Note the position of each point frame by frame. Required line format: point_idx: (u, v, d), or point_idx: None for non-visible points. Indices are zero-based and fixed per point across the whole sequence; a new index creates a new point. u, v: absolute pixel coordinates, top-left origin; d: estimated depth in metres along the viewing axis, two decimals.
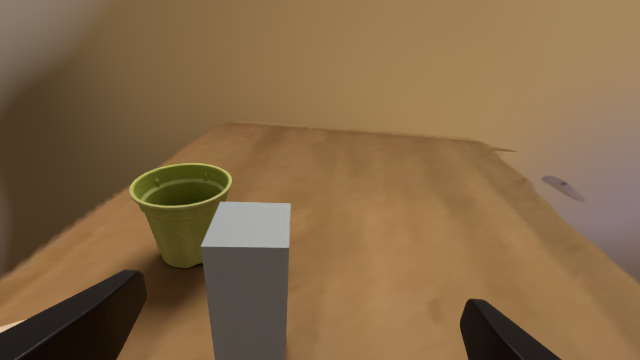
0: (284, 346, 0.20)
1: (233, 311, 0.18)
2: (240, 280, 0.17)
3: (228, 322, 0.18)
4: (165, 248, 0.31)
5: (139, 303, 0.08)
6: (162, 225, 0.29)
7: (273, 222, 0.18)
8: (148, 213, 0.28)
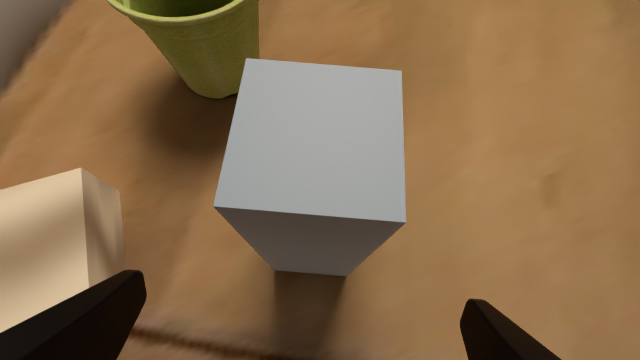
0: (356, 266, 0.14)
1: (287, 247, 0.11)
2: (297, 235, 0.09)
3: (281, 251, 0.12)
4: (182, 73, 0.21)
5: (139, 303, 0.08)
6: (166, 45, 0.18)
7: (367, 135, 0.08)
8: (138, 25, 0.17)
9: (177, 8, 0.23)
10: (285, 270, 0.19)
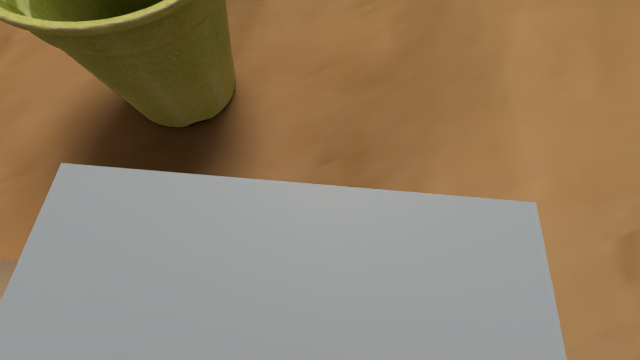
0: None
1: None
2: None
3: None
4: (123, 97, 0.15)
5: None
6: (84, 61, 0.12)
7: None
8: (31, 32, 0.11)
9: (120, 6, 0.17)
10: None
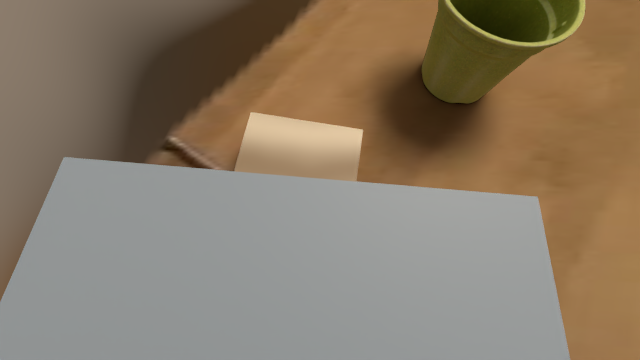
0: None
1: None
2: None
3: None
4: (438, 74, 0.25)
5: None
6: (459, 51, 0.21)
7: None
8: (453, 31, 0.20)
9: None
10: None
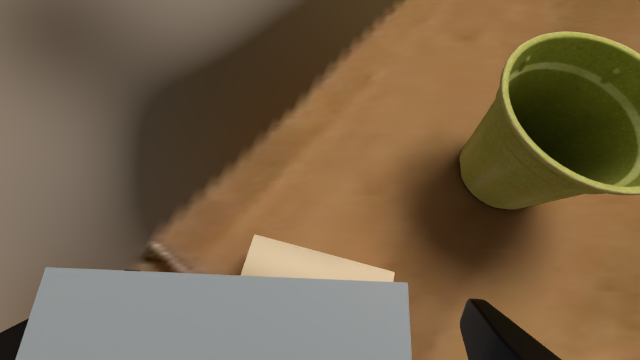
0: None
1: None
2: None
3: None
4: (485, 180, 0.20)
5: None
6: (520, 172, 0.17)
7: None
8: (516, 152, 0.16)
9: None
10: None
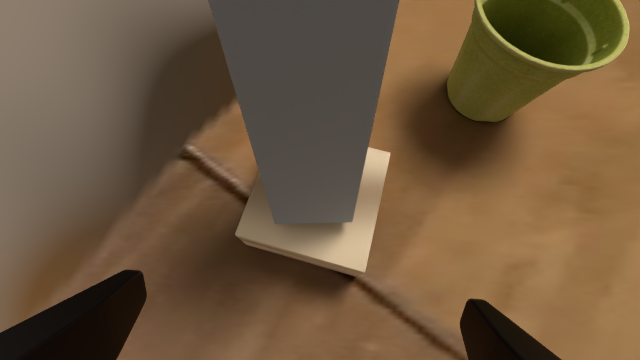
0: (360, 174, 0.14)
1: (285, 124, 0.11)
2: (294, 68, 0.09)
3: (279, 142, 0.12)
4: (466, 91, 0.24)
5: (139, 303, 0.08)
6: (492, 70, 0.20)
7: None
8: (487, 49, 0.19)
9: None
10: (286, 220, 0.18)
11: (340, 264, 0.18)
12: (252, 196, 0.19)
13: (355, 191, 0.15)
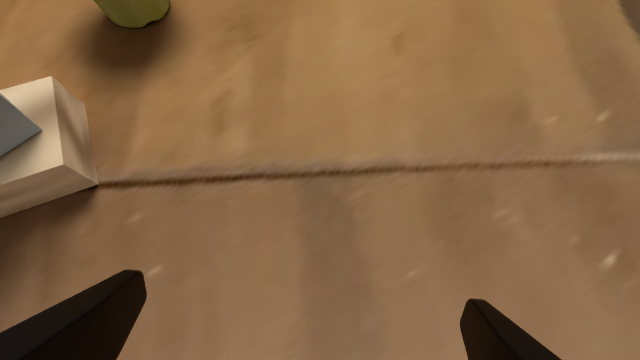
0: None
1: None
2: None
3: None
4: (105, 5, 0.27)
5: (139, 303, 0.08)
6: None
7: None
8: None
9: None
10: None
11: (40, 171, 0.20)
12: None
13: None
